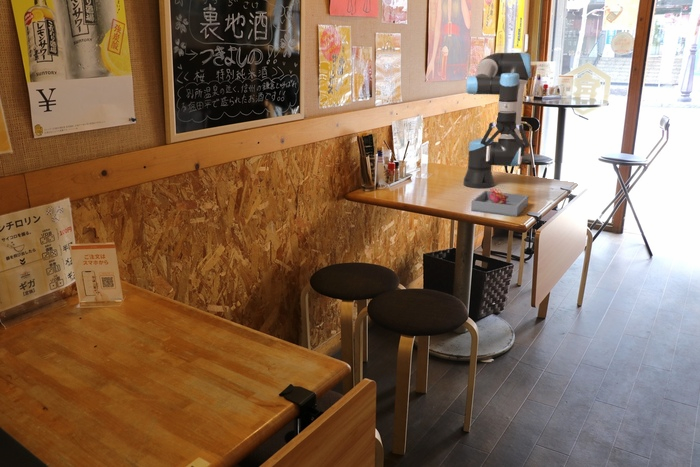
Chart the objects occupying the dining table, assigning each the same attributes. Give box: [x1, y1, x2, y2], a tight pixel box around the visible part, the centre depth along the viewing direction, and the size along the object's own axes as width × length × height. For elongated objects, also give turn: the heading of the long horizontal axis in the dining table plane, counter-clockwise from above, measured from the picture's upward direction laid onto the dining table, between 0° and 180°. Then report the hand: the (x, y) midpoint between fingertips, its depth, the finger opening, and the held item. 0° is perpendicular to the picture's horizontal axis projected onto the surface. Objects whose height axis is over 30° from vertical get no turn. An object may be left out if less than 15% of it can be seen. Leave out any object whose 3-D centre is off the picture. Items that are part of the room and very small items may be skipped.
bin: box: [470, 190, 529, 218], centre depth 251 cm, size 20×20×4 cm
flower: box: [489, 187, 509, 204], centre depth 251 cm, size 10×9×8 cm
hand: (503, 162), depth 245 cm, fingers open, 13 cm apart
